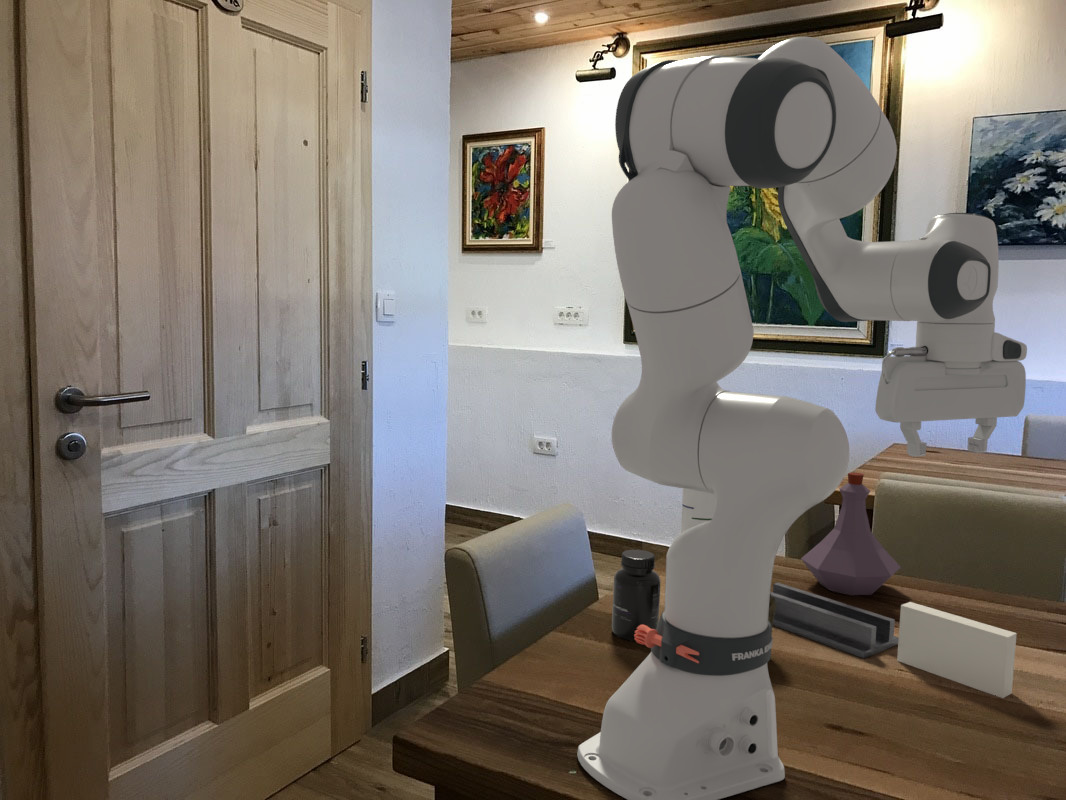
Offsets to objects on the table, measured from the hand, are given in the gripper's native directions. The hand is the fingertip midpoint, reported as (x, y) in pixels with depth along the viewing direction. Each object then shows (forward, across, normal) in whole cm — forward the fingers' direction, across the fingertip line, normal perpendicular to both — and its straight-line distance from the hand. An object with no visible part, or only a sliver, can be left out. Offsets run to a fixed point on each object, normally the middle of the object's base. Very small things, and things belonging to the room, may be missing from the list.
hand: (946, 453), depth 110 cm
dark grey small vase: (+30, -20, +13) cm, 38 cm away
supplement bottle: (+30, -33, +23) cm, 50 cm away
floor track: (+30, -5, +18) cm, 35 cm away
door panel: (+30, +2, -1) cm, 30 cm away
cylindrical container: (+30, -10, +47) cm, 57 cm away
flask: (+31, +12, +34) cm, 47 cm away
